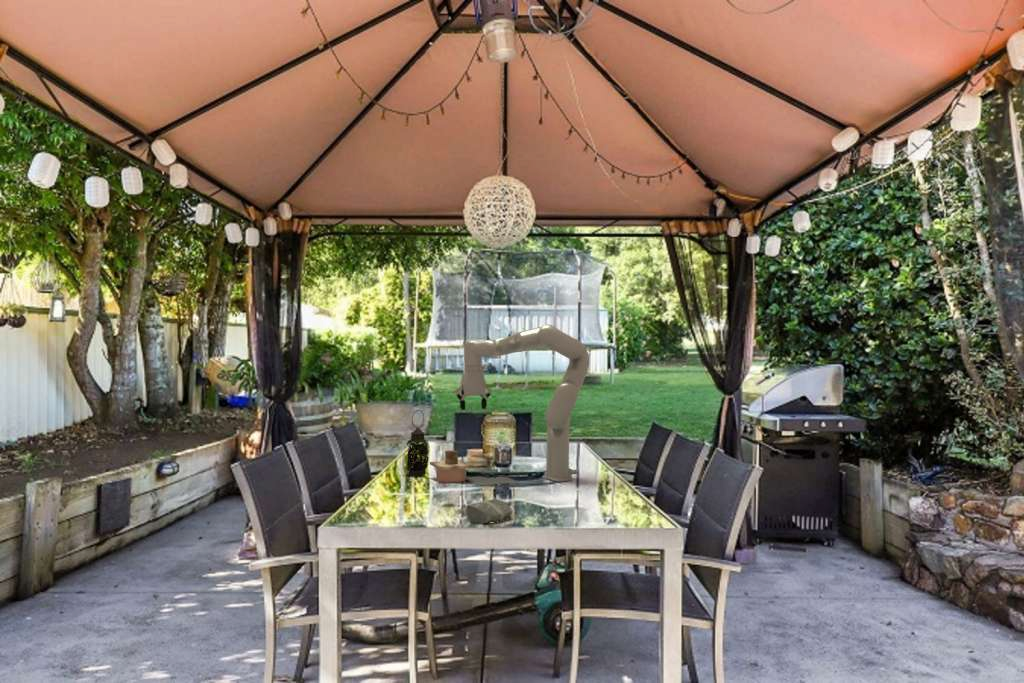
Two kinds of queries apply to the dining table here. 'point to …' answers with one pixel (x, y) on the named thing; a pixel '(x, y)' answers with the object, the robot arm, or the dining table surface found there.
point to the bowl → (451, 475)
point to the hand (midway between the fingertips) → (473, 409)
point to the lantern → (417, 453)
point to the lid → (451, 462)
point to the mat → (490, 480)
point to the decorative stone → (488, 511)
